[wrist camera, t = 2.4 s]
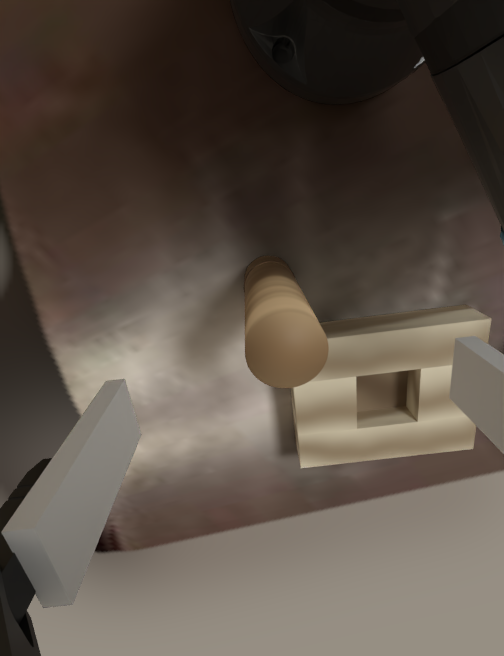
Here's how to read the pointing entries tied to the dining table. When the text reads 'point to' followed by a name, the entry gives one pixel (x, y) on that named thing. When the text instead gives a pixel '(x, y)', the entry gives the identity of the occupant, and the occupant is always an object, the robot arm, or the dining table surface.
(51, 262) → the dining table surface
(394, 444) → the wooden block with hole
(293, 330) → the leg
